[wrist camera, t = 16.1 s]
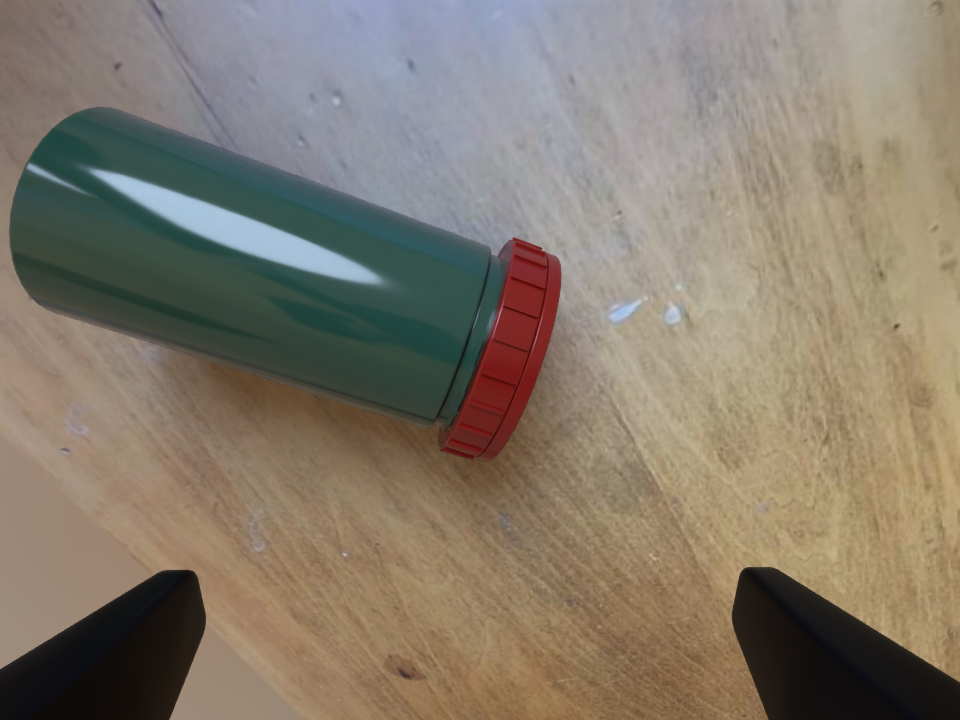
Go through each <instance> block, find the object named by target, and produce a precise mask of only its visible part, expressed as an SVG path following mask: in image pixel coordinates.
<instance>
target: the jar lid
mask: <svg viewBox="0 0 960 720" xmlns="http://www.w3.org/2000/svg"><path fill="white" fill-rule="evenodd" d="M498 257H500V258H502V259H504V274H503V279H502V284H501V289H500V293H499V297H498V301H497V305H496V308H495V312H494V315H493V319H492V322H491V325H490V328H489V332H488V335H487V338H486V341H485V344H484V347H483V350H482V353H481V355H480V358H479V361H478V364H477V367H476V369H475V372H474V374H473V377H472V380H471V382H470V385H469V387H468V390H467V392H466V394H465V397H464V399H463V401H462V403H461V405H460V408H459V410H458V413H457V415H456V417H455V418H454V420H453V422H452V424H451V426H450V427H449V429H448V430H447V431H446V432H444V431H440V428H439V437H438V442H439V447H440V451H443V452H447V453H450V454H453V455H456V456H460V457H463V458H466V459H470V460H474V459H476V460H479V461H482V462H489V461H491V460H493V459H494V458H495V457H496V456H497V455H498V454H499V453H500V451H501V450H502V449H503V447H504V446H505V444H506V443H507V441H508V440H509V438H510V436H511V435H512V433H513V431H514V430H515V428H516V426H517V424H518V422H519V420H520V418H521V416H522V414H523V411H524V409H525V407H526V405H527V403H528V400H529V398H530V395H531V393H532V391H533V388H534V385H535V383H536V380H537V377H538V375H539V372H540V369H541V366H542V363H543V360H544V357H545V354H546V351H547V348H548V344H549V341H550V337H551V333H552V330H553V326H554V322H555V317H556V313H557V308H558V302H559V297H560V288H561V265H560V261H559V259H558V258H557V257H556V256H554V255H552V254H549V253H546V252H545V251H542V248H541V247H538V246H535V245H533V244H530V243H527V242H525V241H522V240H519V239H517V238H513V240H509V241H508V242H507V243H506V244H505V245H504V247H503V248H502V250H501V251H500V253H499V255H498Z"/></svg>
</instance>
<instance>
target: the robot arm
mask: <svg viewBox="0 0 960 720" xmlns="http://www.w3.org/2000/svg"><path fill="white" fill-rule="evenodd" d="M732 622H733V627H734V631H735V634H736V636H737V639H738V642H739V644H740V647H741V649H742V652H743V655H744V657H745V660H746V662H747V665H748V668H749V670H750V673H751V675H752V678H753V680H754V683H755V686H756V688H757V691H758V693H759V696H760V699H761V701H762V704H763V706H764V709H765V712H766V714H767V717H768V719H769V720H960V682H958V681H957V680H955V679H954V678H952V677H950V676H949V675H947V674H945V673H944V672H942V671H941V670H939V669H937V668H936V667H934V666H933V665H931V664H929V663H928V662H926V661H924V660H923V659H921V658H920V657H918V656H916V655H915V654H913V653H912V652H910V651H908V650H907V649H905V648H904V647H902V646H900V645H899V644H897V643H895V642H894V641H892V640H891V639H889V638H887V637H886V636H884V635H883V634H881V633H879V632H878V631H876V630H874V629H873V628H871V627H870V626H868V625H866V624H865V623H863V622H862V621H860V620H858V619H857V618H855V617H854V616H852V615H850V614H849V613H847V612H845V611H844V610H842V609H841V608H839V607H837V606H836V605H834V604H833V603H831V602H829V601H828V600H826V599H824V598H823V597H821V596H820V595H818V594H816V593H815V592H813V591H812V590H810V589H808V588H807V587H805V586H804V585H802V584H800V583H799V582H797V581H795V580H794V579H792V578H791V577H789V576H787V575H786V574H784V573H783V572H781V571H779V570H777V569H775V568H772V567H747V568H744V569H743V570H742V572H741V573H740V576H739V580H738V585H737V590H736V595H735V600H734V605H733V610H732ZM205 625H206V614H205V609H204V604H203V599H202V595H201V590H200V585H199V581H198V577H197V575H196V574H195V572H193V571H191V570H165V571H161V572H159V573H157V574H155V575H154V576H152V577H151V578H149V579H147V580H146V581H144V582H142V583H141V584H139V585H137V586H136V587H134V588H133V589H131V590H129V591H128V592H126V593H125V594H123V595H121V596H120V597H118V598H116V599H115V600H113V601H111V602H110V603H108V604H106V605H105V606H103V607H101V608H100V609H98V610H97V611H95V612H93V613H92V614H90V615H89V616H87V617H85V618H83V619H82V620H80V621H79V622H77V623H75V624H74V625H72V626H70V627H69V628H67V629H65V630H64V631H62V632H61V633H59V634H57V635H56V636H54V637H52V638H51V639H49V640H47V641H46V642H44V643H43V644H41V645H39V646H38V647H36V648H34V649H33V650H31V651H29V652H28V653H26V654H25V655H23V656H21V657H20V658H18V659H16V660H15V661H13V662H12V663H10V664H8V665H7V666H5V667H3V668H2V669H0V720H169V719H170V717H171V714H172V712H173V709H174V707H175V704H176V702H177V699H178V697H179V694H180V692H181V689H182V687H183V684H184V682H185V679H186V677H187V674H188V672H189V669H190V666H191V664H192V662H193V659H194V657H195V654H196V651H197V649H198V647H199V644H200V642H201V639H202V636H203V634H204V630H205Z"/></svg>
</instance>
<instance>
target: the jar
mask: <svg viewBox="0 0 960 720" xmlns="http://www.w3.org/2000/svg"><path fill="white" fill-rule="evenodd" d="M9 235H10V249H11V255H12V261H13V264H14V267H15V271H16V274H17V276H18V278H19V280H20V282H21V284H22V286H23V287H24V289H25V290H26V292H27V293H28V294H29V296H30V297H31V298H32V299H33V300H34V301H35V302H36V303H38V304H39V305H41V306H42V307H43V308H45V309H46V310H49V311H51V312H53V313H56V314H59V315H62V316H65V317H69V318H72V319H75V320H78V321H81V322H85V323H88V324H91V325H94V326H97V327H101V328H104V329H107V330H110V331H113V332H117V333H120V334H123V335H126V336H129V337H133V338H136V339H139V340H142V341H145V342H149V343H152V344H155V345H158V346H161V347H164V348H168V349H171V350H174V351H177V352H180V353H184V354H187V355H190V356H193V357H196V358H200V359H203V360H206V361H209V362H212V363H216V364H219V365H222V366H225V367H228V368H232V369H235V370H238V371H241V372H244V373H248V374H251V375H254V376H257V377H260V378H264V379H267V380H270V381H273V382H276V383H280V384H283V385H286V386H289V387H292V388H296V389H299V390H302V391H305V392H308V393H312V394H315V395H318V396H321V397H324V398H328V399H331V400H334V401H337V402H340V403H344V404H347V405H350V406H353V407H356V408H360V409H363V410H366V411H369V412H372V413H375V414H379V415H382V416H385V417H388V418H391V419H395V420H398V421H401V422H404V423H407V424H411V425H414V426H417V427H420V428H423V429H430V428H431V427H432V425H436V426H439V427H440V431H444V432H446V431H447V430H448V429H449V427H450V426H451V424H452V422H453V420H454V418H455V417H456V415H457V413H458V410H459V408H460V405H461V403H462V401H463V399H464V397H465V394H466V392H467V390H468V387H469V385H470V382H471V380H472V377H473V374H474V372H475V369H476V367H477V364H478V361H479V358H480V355H481V353H482V350H483V347H484V344H485V341H486V338H487V335H488V332H489V328H490V325H491V322H492V319H493V315H494V312H495V308H496V305H497V301H498V297H499V293H500V289H501V284H502V279H503V274H504V259H502V258H500V257H497V256H494V255H491V249H490V247H489V246H486V245H484V244H481V243H478V242H476V241H473V240H470V239H467V238H465V237H462V236H459V235H457V234H454V233H451V232H449V231H446V230H443V229H440V228H438V227H435V226H432V225H430V224H427V223H424V222H421V221H419V220H416V219H413V218H411V217H408V216H405V215H403V214H400V213H397V212H394V211H392V210H389V209H386V208H384V207H381V206H378V205H375V204H373V203H370V202H367V201H365V200H362V199H359V198H357V197H354V196H351V195H348V194H346V193H343V192H340V191H338V190H335V189H332V188H329V187H327V186H324V185H321V184H319V183H316V182H313V181H311V180H308V179H305V178H302V177H300V176H297V175H294V174H292V173H289V172H286V171H283V170H281V169H278V168H275V167H273V166H270V165H267V164H265V163H262V162H259V161H256V160H254V159H251V158H248V157H246V156H243V155H240V154H237V153H235V152H232V151H229V150H227V149H224V148H221V147H219V146H216V145H213V144H210V143H208V142H205V141H202V140H200V139H197V138H194V137H191V136H189V135H186V134H183V133H181V132H178V131H175V130H173V129H170V128H167V127H164V126H162V125H159V124H156V123H154V122H151V121H148V120H145V119H143V118H140V117H137V116H135V115H132V114H129V113H127V112H124V111H121V110H118V109H114V108H110V107H95V108H89V109H85V110H82V111H79V112H76V113H74V114H72V115H71V116H69V117H67V118H65V119H64V120H62V121H61V122H60V123H59V124H57V125H56V126H55V127H53V128H52V129H51V130H50V132H49V133H48V134H47V135H46V136H45V137H44V138H43V139H42V140H41V142H40V143H39V144H38V146H37V147H36V148H35V150H34V151H33V153H32V155H31V156H30V158H29V160H28V162H27V163H26V165H25V167H24V170H23V172H22V174H21V177H20V179H19V181H18V185H17V188H16V191H15V195H14V198H13V204H12V209H11V215H10V227H9Z"/></svg>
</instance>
